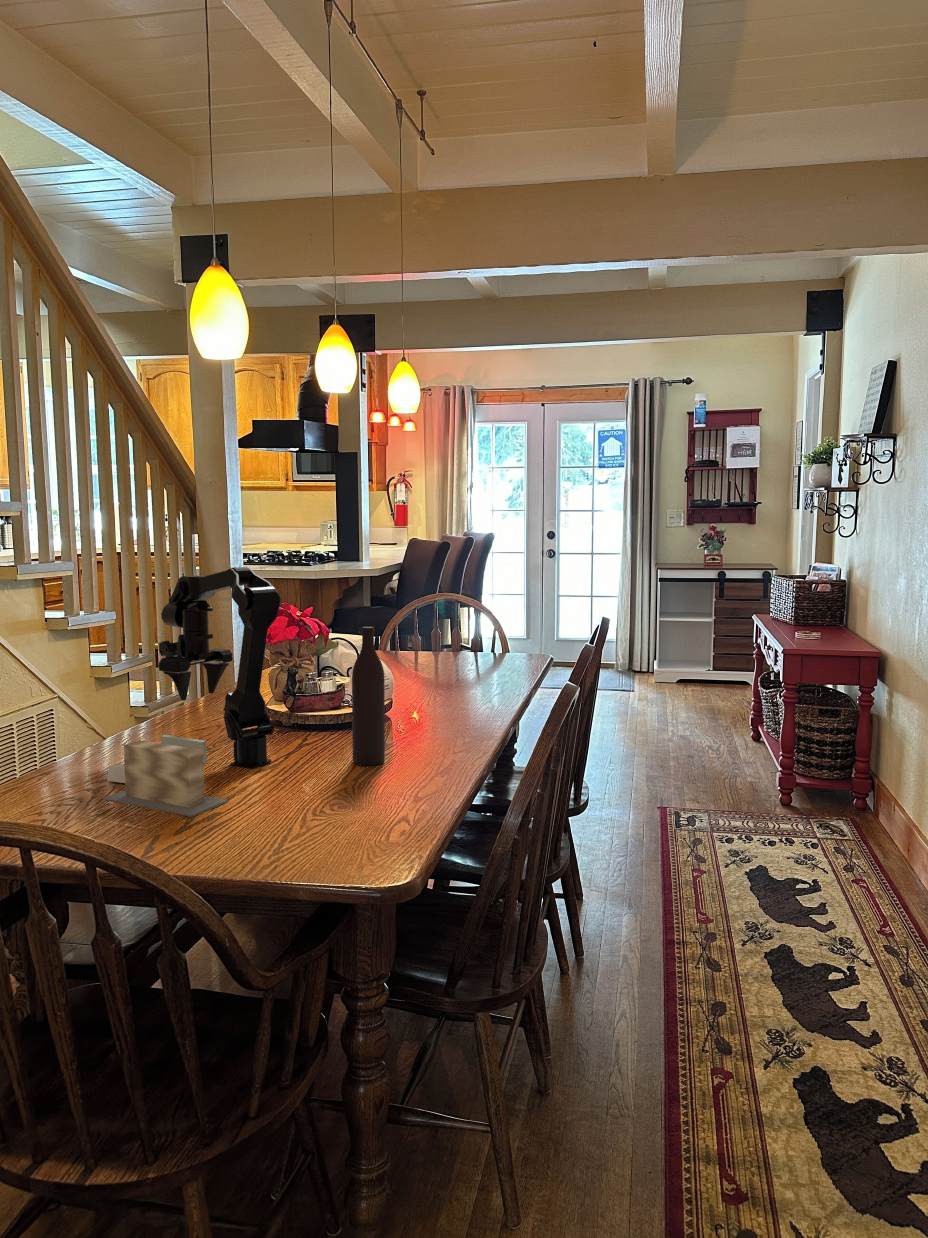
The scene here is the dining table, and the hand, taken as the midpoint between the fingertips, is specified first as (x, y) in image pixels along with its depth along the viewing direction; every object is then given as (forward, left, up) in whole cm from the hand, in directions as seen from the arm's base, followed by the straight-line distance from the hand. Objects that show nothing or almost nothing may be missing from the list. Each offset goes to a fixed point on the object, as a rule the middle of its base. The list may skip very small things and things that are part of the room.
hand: (197, 696), depth 214 cm
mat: (-22, +34, -12) cm, 42 cm away
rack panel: (-5, +10, -12) cm, 17 cm away
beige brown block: (-22, +34, -12) cm, 42 cm away
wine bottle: (-42, -7, -12) cm, 44 cm away
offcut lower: (-9, +28, -12) cm, 32 cm away
